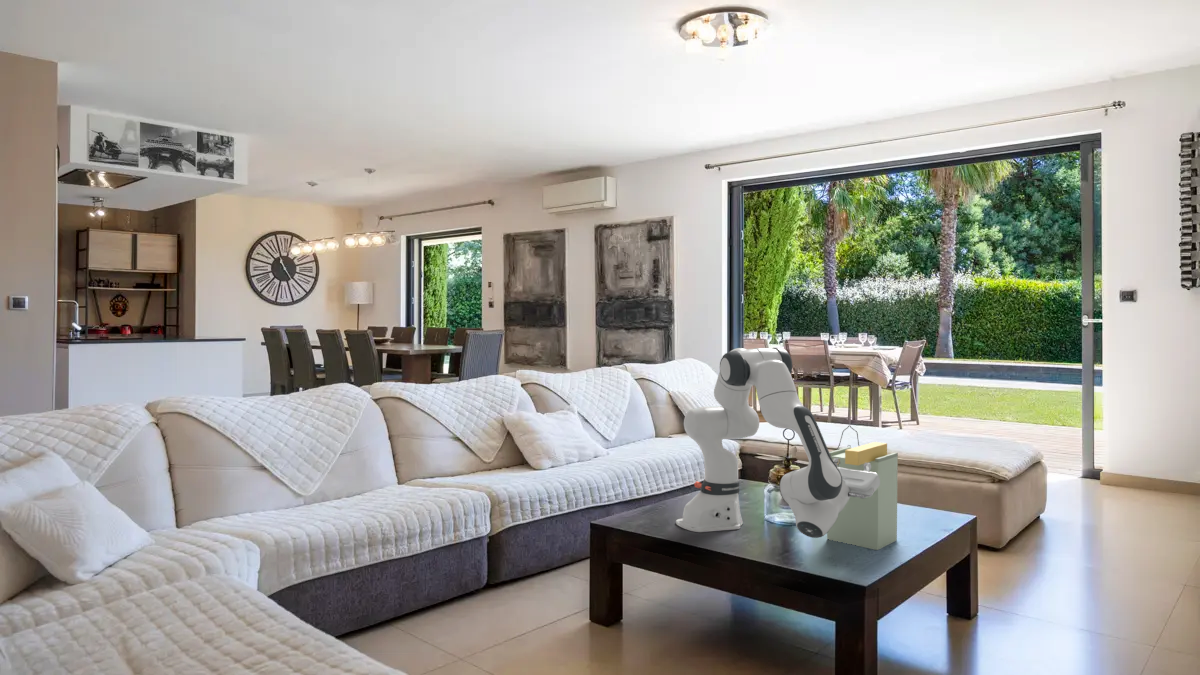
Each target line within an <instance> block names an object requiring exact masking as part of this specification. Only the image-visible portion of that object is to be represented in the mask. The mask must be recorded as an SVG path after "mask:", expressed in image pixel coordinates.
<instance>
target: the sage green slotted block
mask: <svg viewBox="0 0 1200 675" xmlns="http://www.w3.org/2000/svg"><path fill="white" fill-rule="evenodd" d="M851 448H852V447H850V446H847V447H843V448H838V450H837V449H836V450H833V451H829V453H830V455H831V458H832V460H833V459H834V458H837V459H840V464H839V466H838V467H841V468H848V469H854V470H861V471H864V467H863V465H864V464H861V465H851V464H845V450H847V449H851ZM898 461H899V460H898V452H891V453H887V455H885V456H882V457H879V458H876V459H875V460H874V461H871V462H868V463H871V469H870V472H875V473H877V474H878V476H879V479H880V485H879V487H878V488H877V489H876V491H875V492H874V493H873V494H872V496H871V497H866V498H864V499H862V498H858V497H850V499H849V500H848V502H847V504H846V505H845V507H844V509H843V510H842V511H841V512H840V513H839V514H838V518H837V520H836V522H835V523H834V525H833V526H832V527H831V529H830V530H829V531H828V532H827V533H826V540H827V539H829V540H828V541H832V540H833V542H837V541H838V543H841V542H843V543H842V544H846V543H847V544H846V545H851V544H852V545H851V546H855V545H856V547H860V548H866V549H870V550H875V551H879V550H881V549H883V548H885V547H887V546H888V545H891V544H893V543H894V542H897V541H898V471H899V470H898V466H899V463H898Z"/></svg>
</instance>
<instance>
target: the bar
mask: <svg viewBox="0 0 1200 675" xmlns="http://www.w3.org/2000/svg"><path fill="white" fill-rule="evenodd" d="M885 455H888V443H887V442H879V441H873V442H870V443H866V444H861V445H859V446H858V445H857V446H855V447H851V449H847V450H845V464H851V465H861V464H865V462H866V463H868V462H871V461H874V460H875V459H876V458H879V457H882V456H885Z"/></svg>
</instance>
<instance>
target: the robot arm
mask: <svg viewBox="0 0 1200 675" xmlns="http://www.w3.org/2000/svg"><path fill="white" fill-rule="evenodd" d="M792 372H793V360H792V357H791V355H790V353H789V352H788V351H787V350H786V349H784V348H781V347H780V348H779V347H770V348H769V347H754V348H748V349H747V348H742V347H737V348H734V349H732V350H730V351H729V352H726V353H724V354H723V355H722V357H721V359H720V361H719V373H718V376H717V379H716V383H715V386H714V389H713V396H714V399H715V401H716V402H717V403H718V404H719V405H720V406H719V405H718V406H701V407H696V408H693V409H688V411H687V412H686V414H685V416H684V419H683V428H684V432H685V433H686V435H687V436H688V437H689V438H691V439H692V440H693V441H694V442H695V443H696V444H697V445H698V448H700V450H701V453H702V456H703V464H704V480H703V481H702V482H700V481H695V482H694V487H695V488H697V489H700V490H699V492H698V493H697V494H696V495H695V496H694V497H693V498H692V499H691V500H689V501H688V502H687V503H686V504H685V505H684V508H683V513H682V518H678V519H676V520H675V524H676V525H677V526H678V527H680V528H682V529H685V530H688V531H691V532H696V533H707V532H717V531H719V532H720V531H730V530H733V531H734V530H739V529H741V526H742V525H743V523H744V522H743V519H742V514H741V507H740V500H739V496H740V480H739V460H738V457H737V455H736V454H735V453H734V452H732V451H730V450H729V449H727V448H725V447H724V446H723V440H736V439H745V438H748V437H749V438H750V437H753V436H754V435H756V433H757V432H758V429H759V428H760V418H759V414H758V413H757V411H756V410H755V409H754V408H753V407H751V406H750V404H749V397H750V393H751V390H752V387H755V389H756V395H757V400H758V401H757V402H758V404H759V405H758V406H759V408H760V412H761V414H762V417H763V419H764V420H765V422H767V424H769V425H771V426H773V427H774V428H779V429H788V430H792V431H794V432H795V433H796V434H797V436H798V437H799V439H800V442H801V444H802V447H803V449H804V452H805V454H806V456H807V459H808V465H807V466H804V467H801V468H798V469H794V470H792V471H789V472H787V473H785V474H784V475H782V476H781V479H780V481H779V484H778V485H779V486H778V487H779V489H778V490H779V494H780V497H781V498H782V500H783V501H784V502H785V503H786V504H787V505H788V507H789V508H790V509H791V511H792V513H793V516H794V518H795V526H796V528H797V530H798V532H800V533H801V534H802V535H804V536H806V537H808V538H813V539H814V538H815V539H818V538H822V537H824V536H825V535H827V532H828V531H829V530H830V529H831V527H832V526H833V525H834V523H835V522H836V520H837V518H838V514H839V513H840V512H841V511H842V510H843V509H844V507H845V505H846V504H847V502H848V500H849V499H850V497H858V498H862V499H864V498H866V497H871V496H872V494H873V493H874V492H875V491H876V489H877V488H878V487H879V485H880V479H879V476H878V474H877V473H875V472H870V469H871V463H866V462H865V464H864V465H863V467H864V471H861V470H854V469H848V468H841V467H838V466H839V464H840V459H837V458H834V459H833V460H832V458H831V455H830V453H829V452H830V451H829V449H828V446H827V444H826V442H825V440H824V437H823V433H821V429H820V428H819V424H818V423H817V420H816V418H815V417H814V415H813V413H812V412H811V410H810V409H809V408H807V407H806V406H804V405H803V403H802V402H801V400H800V398H799V396H798V392H797V387H796V385H795V382H794V379H793V377H792V374H791V373H792Z"/></svg>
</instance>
